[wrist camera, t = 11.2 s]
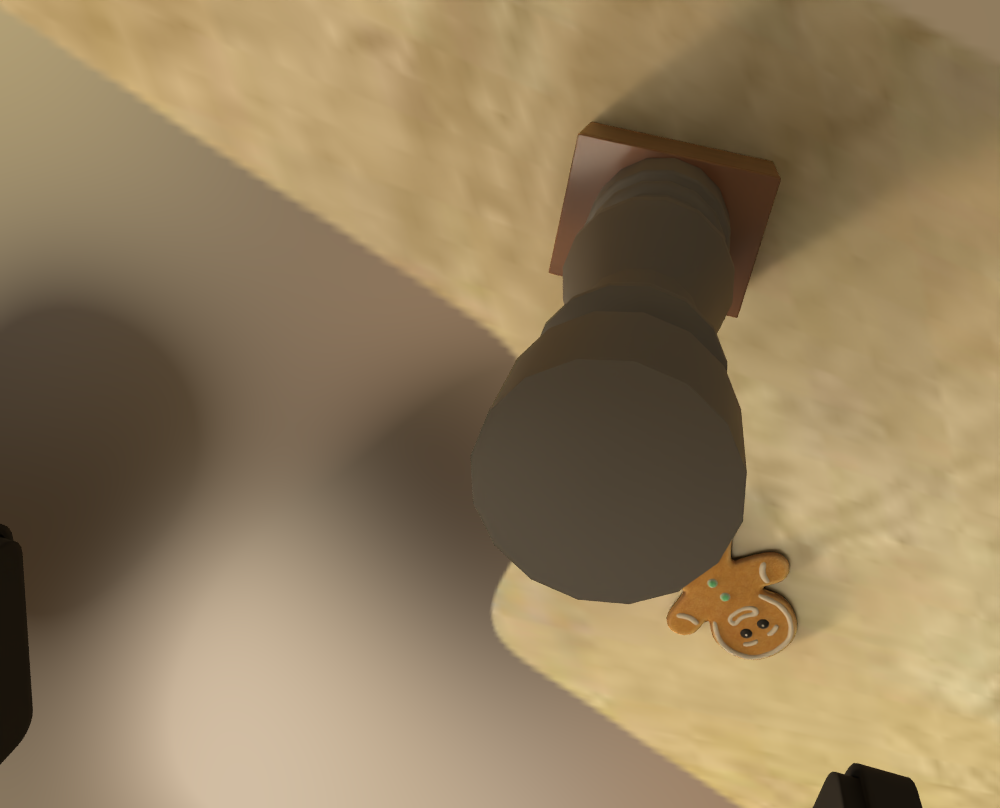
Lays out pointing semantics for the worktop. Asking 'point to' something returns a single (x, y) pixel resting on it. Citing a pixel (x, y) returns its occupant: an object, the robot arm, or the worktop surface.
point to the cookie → (739, 606)
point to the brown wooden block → (736, 175)
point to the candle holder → (624, 403)
